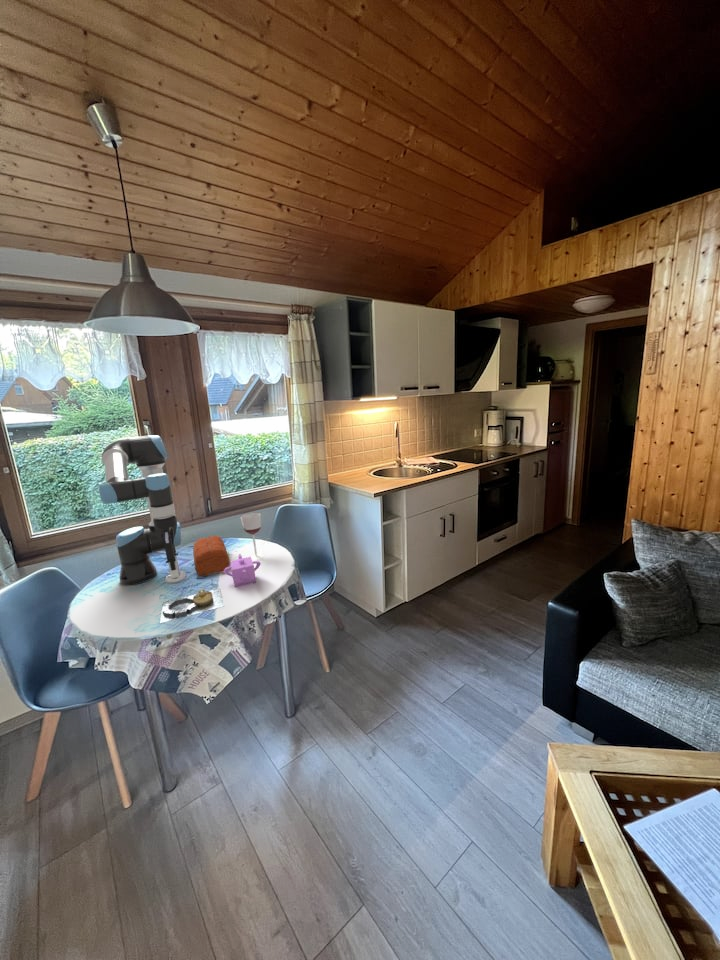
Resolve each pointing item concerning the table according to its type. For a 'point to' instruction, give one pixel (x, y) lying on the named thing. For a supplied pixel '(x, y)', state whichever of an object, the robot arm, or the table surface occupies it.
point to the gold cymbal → (203, 598)
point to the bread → (210, 556)
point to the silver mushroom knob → (178, 579)
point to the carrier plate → (188, 606)
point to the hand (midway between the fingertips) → (175, 575)
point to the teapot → (243, 570)
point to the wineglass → (252, 530)
